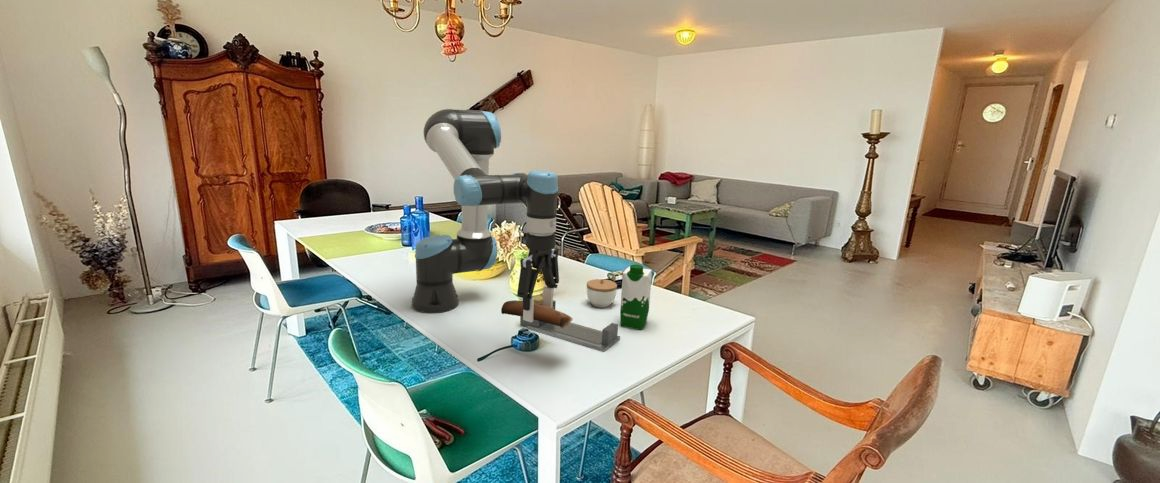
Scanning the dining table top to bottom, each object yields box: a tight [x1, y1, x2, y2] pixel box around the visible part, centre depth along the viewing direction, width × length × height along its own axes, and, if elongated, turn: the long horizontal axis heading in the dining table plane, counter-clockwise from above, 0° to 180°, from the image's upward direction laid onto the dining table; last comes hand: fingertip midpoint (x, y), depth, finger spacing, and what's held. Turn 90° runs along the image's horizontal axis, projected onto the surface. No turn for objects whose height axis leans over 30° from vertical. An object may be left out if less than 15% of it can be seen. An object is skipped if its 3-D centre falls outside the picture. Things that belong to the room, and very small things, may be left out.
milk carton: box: [619, 264, 652, 331], centre depth 152 cm, size 9×9×20 cm
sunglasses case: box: [500, 300, 573, 328], centre depth 128 cm, size 18×7×7 cm
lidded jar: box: [586, 278, 618, 309], centre depth 169 cm, size 11×11×9 cm
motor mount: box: [519, 294, 621, 352], centre depth 145 cm, size 31×10×9 cm, turn 59°
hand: (538, 315), depth 128 cm, fingers closed on sunglasses case, 8 cm apart
